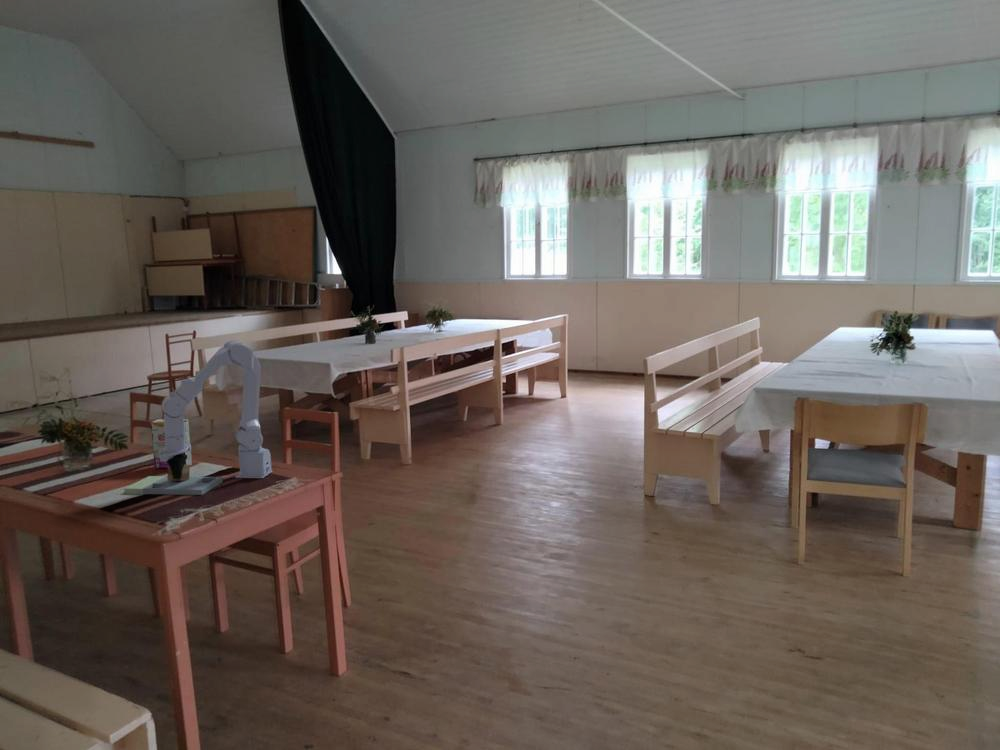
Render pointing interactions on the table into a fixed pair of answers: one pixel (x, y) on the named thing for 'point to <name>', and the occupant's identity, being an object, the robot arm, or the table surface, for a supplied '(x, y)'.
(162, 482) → the board
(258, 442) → the robot arm
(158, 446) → the candy bar box
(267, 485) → the table surface
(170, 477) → the walnut block
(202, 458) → the table surface
